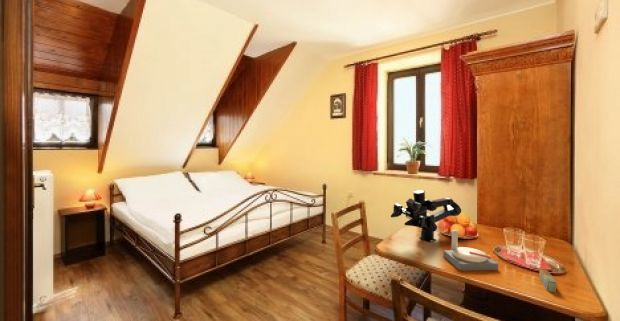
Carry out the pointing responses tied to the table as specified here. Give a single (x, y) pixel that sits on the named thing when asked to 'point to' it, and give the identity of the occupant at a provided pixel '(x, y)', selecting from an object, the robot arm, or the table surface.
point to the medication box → (547, 280)
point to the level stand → (470, 263)
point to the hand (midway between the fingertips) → (397, 220)
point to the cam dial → (466, 251)
